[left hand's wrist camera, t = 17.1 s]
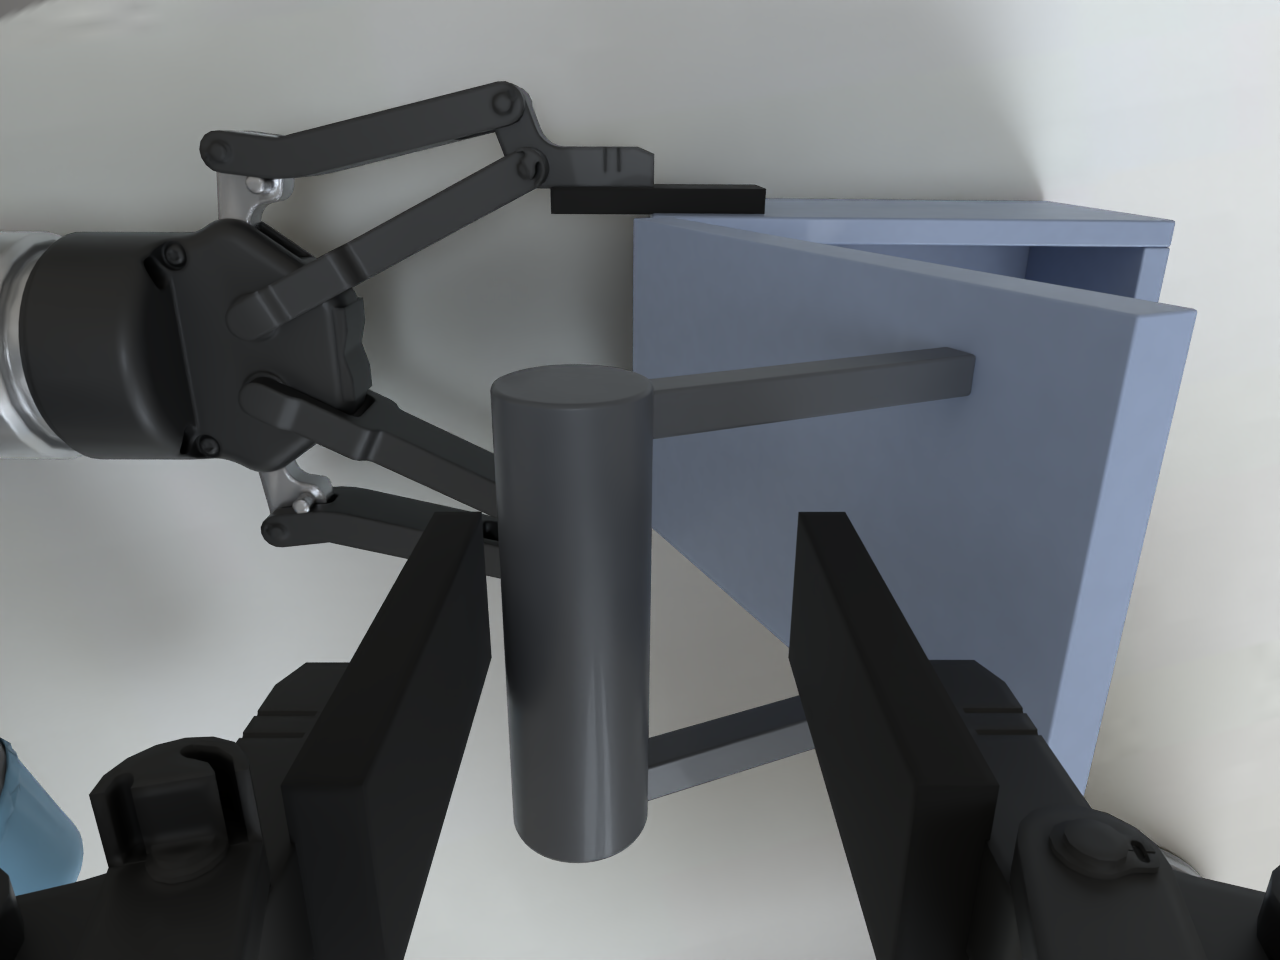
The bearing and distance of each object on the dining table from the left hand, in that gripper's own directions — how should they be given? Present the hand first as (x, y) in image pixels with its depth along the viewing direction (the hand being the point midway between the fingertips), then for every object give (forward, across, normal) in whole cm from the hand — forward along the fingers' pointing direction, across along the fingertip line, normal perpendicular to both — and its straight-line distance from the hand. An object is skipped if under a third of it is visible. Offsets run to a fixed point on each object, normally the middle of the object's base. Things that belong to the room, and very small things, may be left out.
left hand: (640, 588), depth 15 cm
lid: (+6, -4, 0) cm, 8 cm away
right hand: (+16, -4, 0) cm, 17 cm away
